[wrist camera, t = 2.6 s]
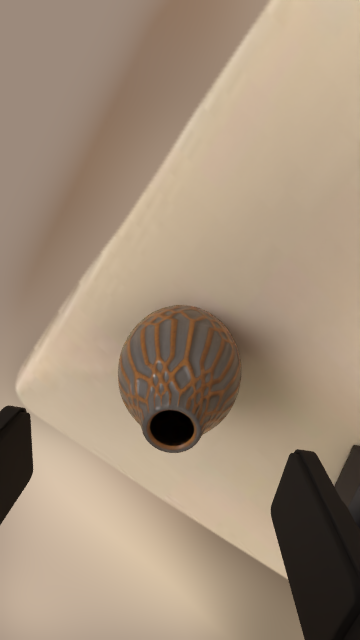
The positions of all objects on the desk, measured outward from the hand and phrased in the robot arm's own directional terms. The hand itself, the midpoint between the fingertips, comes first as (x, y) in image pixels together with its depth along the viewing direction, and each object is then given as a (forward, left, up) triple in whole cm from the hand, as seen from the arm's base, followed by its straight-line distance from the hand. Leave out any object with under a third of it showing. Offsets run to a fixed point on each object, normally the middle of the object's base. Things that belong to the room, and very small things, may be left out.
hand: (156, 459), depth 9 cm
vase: (0, 0, -10) cm, 10 cm away
